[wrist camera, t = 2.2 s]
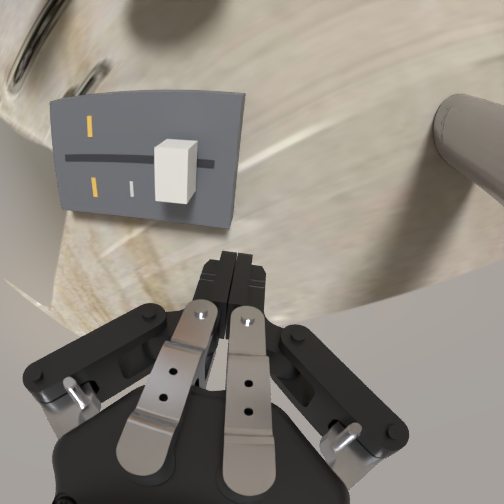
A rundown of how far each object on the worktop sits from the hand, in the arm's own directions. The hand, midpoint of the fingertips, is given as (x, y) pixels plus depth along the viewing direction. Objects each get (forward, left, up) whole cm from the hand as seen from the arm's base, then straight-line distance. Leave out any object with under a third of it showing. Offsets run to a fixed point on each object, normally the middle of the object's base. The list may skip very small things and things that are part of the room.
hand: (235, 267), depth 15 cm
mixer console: (+13, 0, -18) cm, 23 cm away
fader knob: (+7, 0, -15) cm, 17 cm away
